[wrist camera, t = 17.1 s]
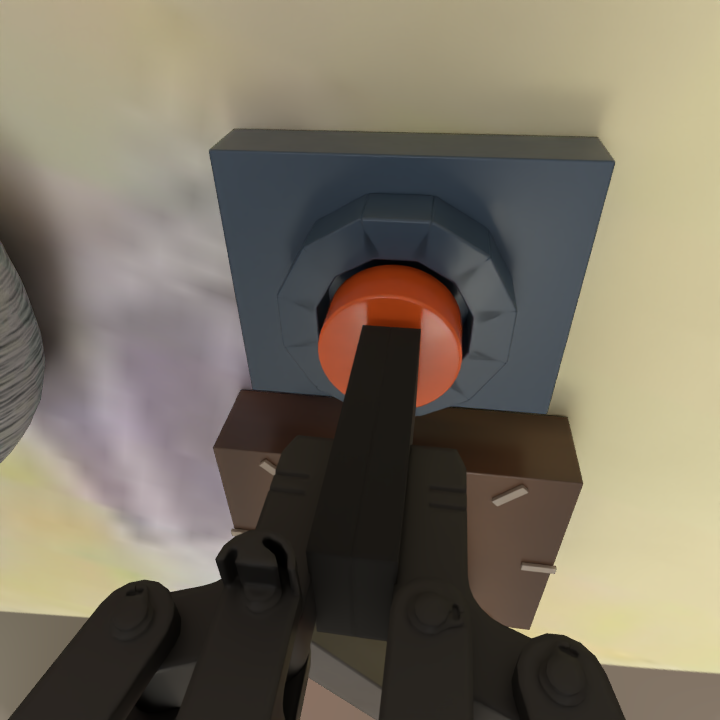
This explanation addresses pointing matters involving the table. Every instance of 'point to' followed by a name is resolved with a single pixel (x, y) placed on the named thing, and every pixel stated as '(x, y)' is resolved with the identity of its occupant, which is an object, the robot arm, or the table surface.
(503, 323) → the buzzer
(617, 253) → the table surface
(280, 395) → the dial console
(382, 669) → the pointer
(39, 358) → the grey striped ovoid
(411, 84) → the table surface
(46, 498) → the table surface
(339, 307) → the button
